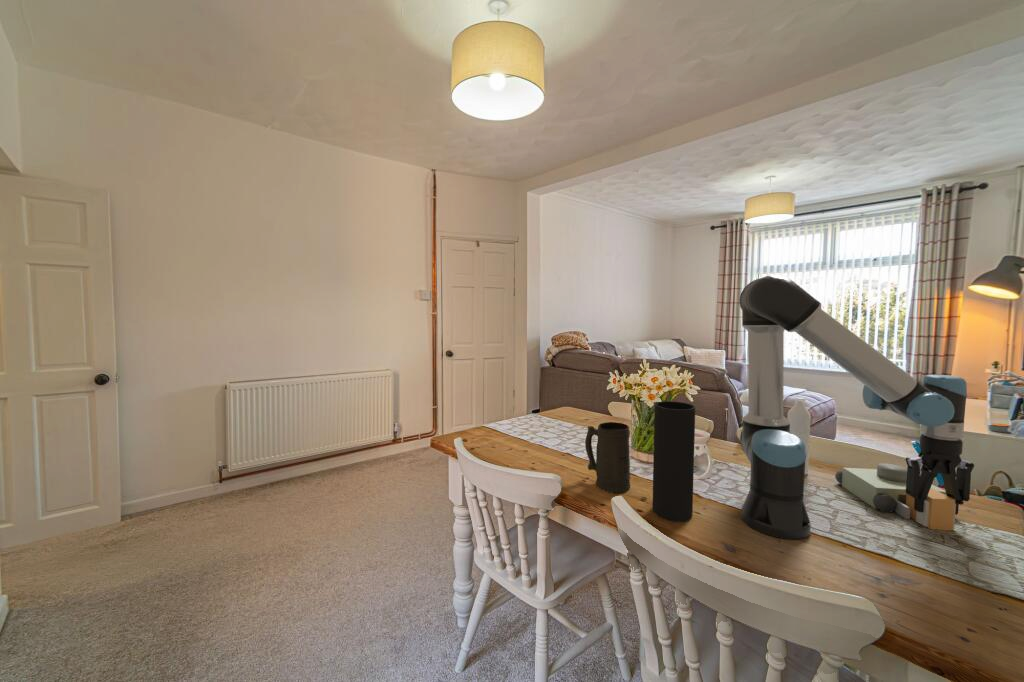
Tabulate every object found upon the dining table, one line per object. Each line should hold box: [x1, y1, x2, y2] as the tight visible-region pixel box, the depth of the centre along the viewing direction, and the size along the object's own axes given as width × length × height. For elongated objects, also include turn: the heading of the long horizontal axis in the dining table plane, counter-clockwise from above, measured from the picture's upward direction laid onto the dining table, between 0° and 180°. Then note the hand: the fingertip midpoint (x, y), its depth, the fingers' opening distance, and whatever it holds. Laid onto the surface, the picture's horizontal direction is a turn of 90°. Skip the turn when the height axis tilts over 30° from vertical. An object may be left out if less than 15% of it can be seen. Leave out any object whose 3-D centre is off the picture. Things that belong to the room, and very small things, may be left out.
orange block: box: [906, 488, 955, 531], centre depth 107 cm, size 5×8×8 cm, turn 171°
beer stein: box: [584, 421, 631, 494], centre depth 131 cm, size 15×11×20 cm
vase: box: [651, 400, 696, 523], centre depth 112 cm, size 10×10×30 cm
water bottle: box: [787, 396, 812, 476], centre depth 141 cm, size 9×6×25 cm
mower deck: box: [834, 462, 947, 520], centre depth 119 cm, size 19×22×9 cm
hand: (934, 524), depth 105 cm, fingers closed on orange block, 5 cm apart
